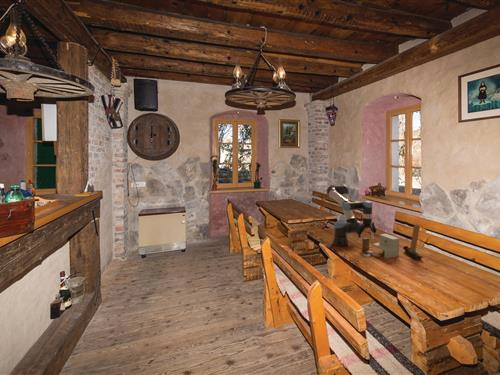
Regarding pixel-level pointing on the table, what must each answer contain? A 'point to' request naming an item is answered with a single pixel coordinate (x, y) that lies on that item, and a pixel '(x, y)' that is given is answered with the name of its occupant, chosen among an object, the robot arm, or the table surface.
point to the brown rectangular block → (367, 247)
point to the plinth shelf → (388, 245)
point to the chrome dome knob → (367, 255)
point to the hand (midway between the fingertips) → (366, 240)
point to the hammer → (413, 243)
